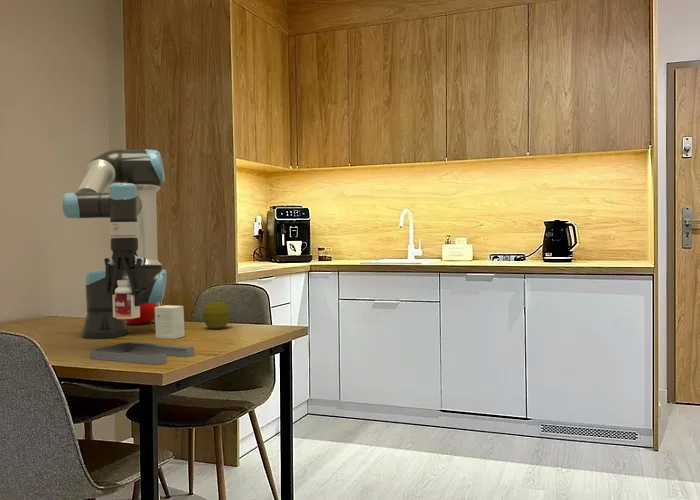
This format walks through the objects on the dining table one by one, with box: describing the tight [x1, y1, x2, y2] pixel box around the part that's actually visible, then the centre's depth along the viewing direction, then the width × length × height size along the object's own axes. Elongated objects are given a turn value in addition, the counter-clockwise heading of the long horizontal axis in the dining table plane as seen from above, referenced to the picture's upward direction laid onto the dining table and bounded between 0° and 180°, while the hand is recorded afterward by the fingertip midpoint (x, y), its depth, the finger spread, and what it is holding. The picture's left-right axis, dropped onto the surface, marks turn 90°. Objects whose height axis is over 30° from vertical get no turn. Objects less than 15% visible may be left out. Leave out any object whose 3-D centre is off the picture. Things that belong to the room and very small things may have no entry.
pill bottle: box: [115, 280, 133, 319], centre depth 198 cm, size 6×6×11 cm
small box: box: [154, 304, 185, 340], centre depth 231 cm, size 8×6×10 cm
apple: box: [202, 301, 231, 330], centre depth 249 cm, size 10×10×11 cm
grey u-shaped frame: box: [89, 341, 195, 366], centre depth 196 cm, size 25×15×2 cm, turn 65°
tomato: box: [125, 303, 158, 325], centre depth 266 cm, size 12×13×11 cm
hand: (126, 317), depth 198 cm, fingers closed on pill bottle, 6 cm apart
